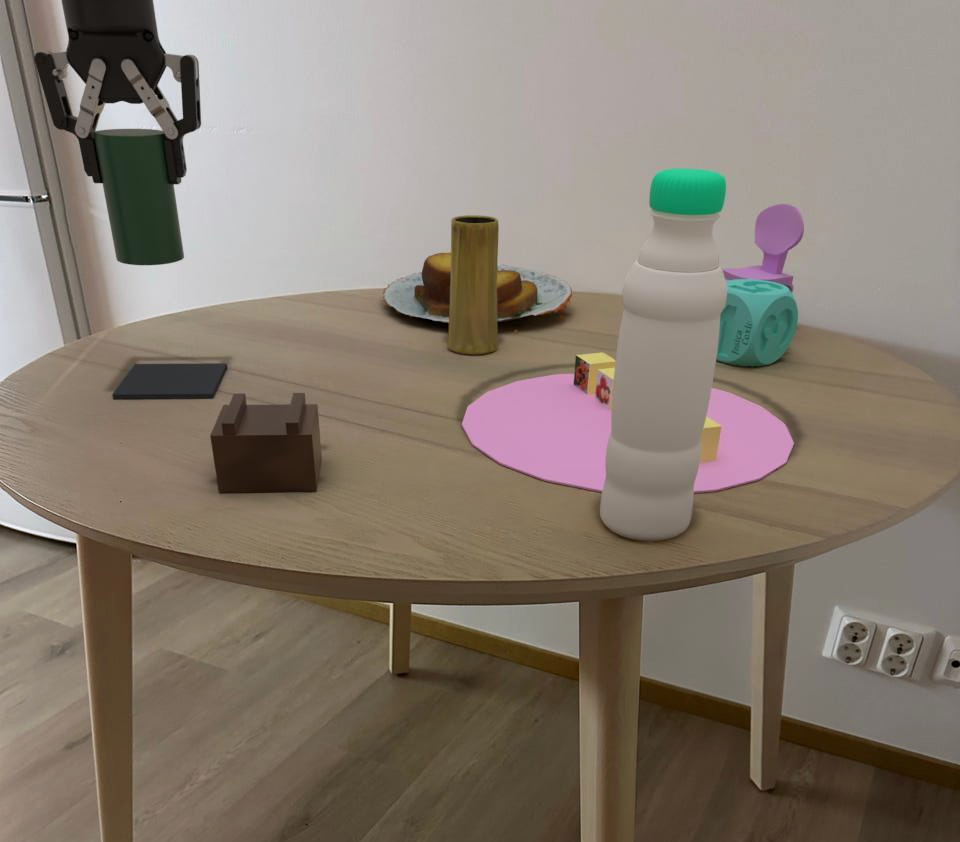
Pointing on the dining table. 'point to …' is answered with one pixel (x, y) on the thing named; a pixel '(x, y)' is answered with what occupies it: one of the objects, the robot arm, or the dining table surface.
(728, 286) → the decorative dice
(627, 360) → the water bottle
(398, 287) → the food on plate
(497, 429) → the platter
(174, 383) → the coaster
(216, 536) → the dining table surface
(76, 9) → the robot arm
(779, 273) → the toy chair
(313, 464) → the cradle
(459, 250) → the vase
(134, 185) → the green can
